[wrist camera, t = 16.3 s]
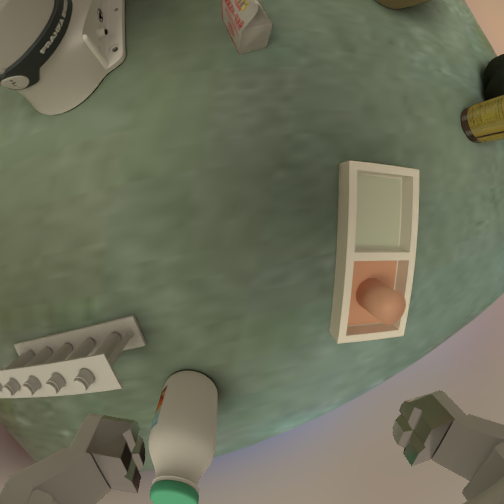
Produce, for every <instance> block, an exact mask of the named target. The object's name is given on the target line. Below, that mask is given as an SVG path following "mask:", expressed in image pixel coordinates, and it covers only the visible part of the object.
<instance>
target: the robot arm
mask: <svg viewBox="0 0 504 504" xmlns="http://www.w3.org/2000/svg"><path fill="white" fill-rule="evenodd" d="M116 49H118V50H117V51H116V52H114V51H115V50H116ZM125 57H126V49H125V0H0V85H1V86H4V87H6V88H9V89H13V90H16V91H18V92H19V93H20V94H22V95H23V96H24V97H25V98H26V99H27V100H28V101H29V102H30V103H31V104H32V105H33V107H34V108H35V109H36V110H37V111H38V112H40V113H42V114H46V115H57V114H61V113H64V112H66V111H69V110H71V109H72V108H74V107H76V106H77V105H79V104H80V103H81V102H83V101H84V100H85V99H86V98H87V97H88V96H89V95H90V94H91V93H92V92H93V91H94V90H95V89H96V87H97V86H98V85H99V83H100V82H101V81H102V79H103V78H104V77H105V76H106V75H107V74H108V73H109V72H110V71H112V70H113V69H115V68H116V67H117V66H119V65H120V64H121V63H122V62H123V61H124V59H125ZM400 413H401V415H400V416H399V417H398V418H397V419H396V420H395V423H394V426H393V435H394V439H395V441H396V442H397V444H398V445H400V446H402V447H404V452H403V453H404V455H405V457H406V458H407V460H408V461H409V463H410V464H411V466H413V465H416V464H419V463H422V462H424V461H427V460H430V459H432V460H433V461H434V462H436V463H438V464H440V465H442V466H443V467H445V468H447V469H449V470H451V471H452V472H454V473H456V474H458V475H460V476H462V477H464V478H466V479H467V480H469V481H470V482H469V483H468V484H467V486H466V487H465V488H464V489H463V492H462V493H463V495H464V496H465V498H466V499H467V502H465V503H464V504H504V425H502V424H499V423H496V422H492V421H489V420H486V419H483V418H480V417H477V416H473V415H471V414H469V415H466V414H465V413H464V412H463V411H462V410H461V409H460V408H459V407H458V406H457V405H456V404H455V403H454V402H453V401H452V400H451V399H450V398H449V397H448V396H447V395H446V394H445V393H444V392H443V391H437V392H433V393H430V394H428V395H424V396H421V397H417V398H414V399H411V400H407V401H404V403H403V404H402V405H401V407H400ZM139 430H140V428H139V425H138V423H137V421H135V420H129V419H122V418H116V417H111V416H105V415H98V414H94V413H89V414H87V415H86V416H85V418H84V420H83V422H82V424H81V426H80V428H79V430H78V432H77V434H76V436H75V438H74V440H73V442H72V444H71V446H70V448H67V447H64V448H63V449H61V450H59V451H57V452H55V453H53V454H52V455H50V456H48V457H46V458H44V459H42V460H40V461H38V462H37V463H35V464H33V465H31V466H29V467H27V468H25V469H23V470H21V471H19V472H17V473H15V474H13V475H11V476H10V477H9V479H8V481H7V483H6V484H5V486H4V488H3V490H2V492H1V494H0V504H96V503H97V502H98V501H99V500H100V499H102V498H103V497H104V496H105V495H106V494H107V493H108V492H109V491H110V490H111V489H115V490H120V491H126V492H133V493H138V489H139V485H140V480H141V475H140V473H139V471H138V470H139V469H141V468H142V467H143V466H144V462H145V444H144V441H143V439H142V438H141V437H140V436H139V435H138V434H139Z"/></svg>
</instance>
